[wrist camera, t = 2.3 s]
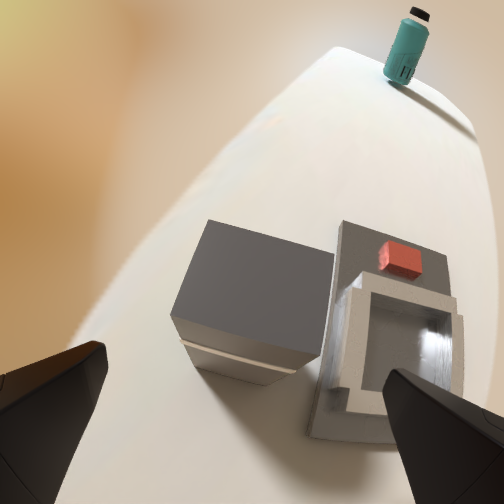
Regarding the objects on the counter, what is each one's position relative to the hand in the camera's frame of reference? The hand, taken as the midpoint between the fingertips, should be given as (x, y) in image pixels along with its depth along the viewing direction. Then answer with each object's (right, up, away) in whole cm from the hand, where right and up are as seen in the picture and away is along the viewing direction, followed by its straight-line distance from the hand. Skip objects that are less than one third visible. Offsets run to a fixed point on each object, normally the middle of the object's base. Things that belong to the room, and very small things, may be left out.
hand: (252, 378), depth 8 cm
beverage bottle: (+31, +40, +42) cm, 66 cm away
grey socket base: (+12, -3, +13) cm, 18 cm away
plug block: (-1, -3, +11) cm, 12 cm away
